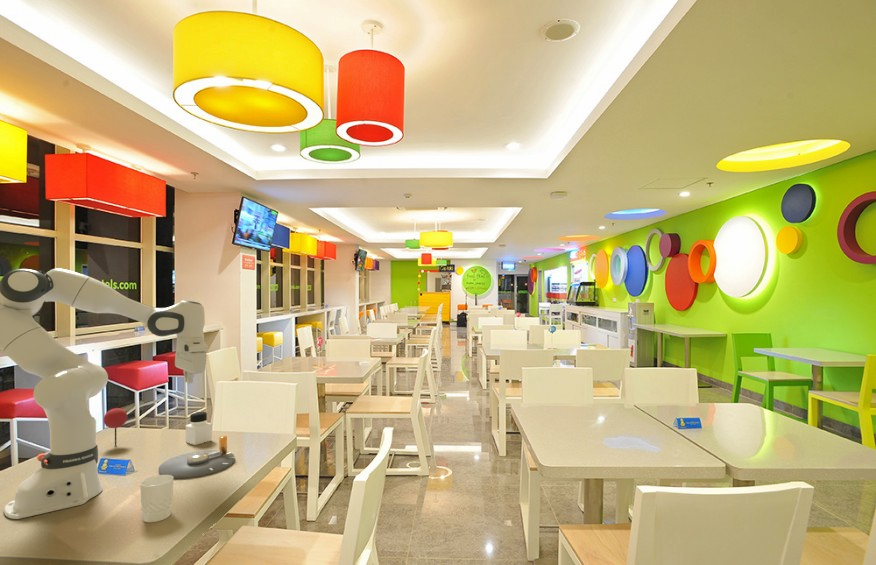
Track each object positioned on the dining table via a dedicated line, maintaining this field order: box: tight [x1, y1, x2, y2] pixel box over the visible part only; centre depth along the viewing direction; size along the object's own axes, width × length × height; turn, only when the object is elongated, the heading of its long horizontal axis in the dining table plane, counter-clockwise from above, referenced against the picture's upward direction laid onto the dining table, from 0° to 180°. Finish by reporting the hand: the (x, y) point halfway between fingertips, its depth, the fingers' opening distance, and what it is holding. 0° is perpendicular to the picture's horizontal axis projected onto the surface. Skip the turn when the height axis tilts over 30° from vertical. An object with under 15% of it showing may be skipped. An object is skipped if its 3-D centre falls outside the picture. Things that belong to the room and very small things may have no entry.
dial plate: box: [158, 449, 235, 480], centre depth 166 cm, size 24×24×1 cm
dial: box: [187, 435, 228, 465], centre depth 169 cm, size 14×7×6 cm, turn 139°
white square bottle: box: [185, 410, 212, 446], centre depth 193 cm, size 7×7×12 cm
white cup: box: [139, 474, 174, 523], centre depth 129 cm, size 8×8×10 cm
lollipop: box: [103, 407, 128, 447], centre depth 188 cm, size 8×8×15 cm
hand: (188, 382), depth 171 cm, fingers closed
